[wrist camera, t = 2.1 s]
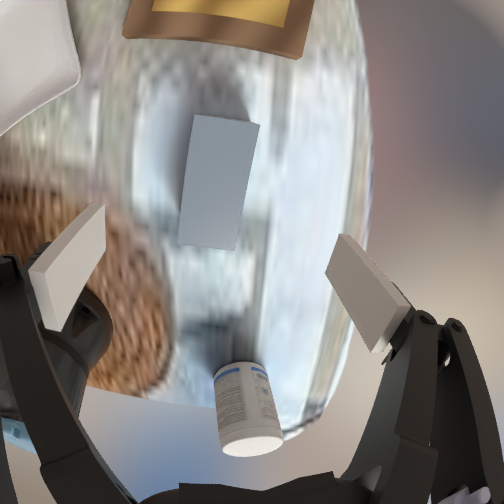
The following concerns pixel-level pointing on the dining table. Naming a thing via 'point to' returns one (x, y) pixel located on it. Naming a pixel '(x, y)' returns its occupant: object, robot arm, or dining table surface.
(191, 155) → the block
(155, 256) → the dining table surface
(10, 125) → the salad plate
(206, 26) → the board
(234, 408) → the supplement tub
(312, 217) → the dining table surface
